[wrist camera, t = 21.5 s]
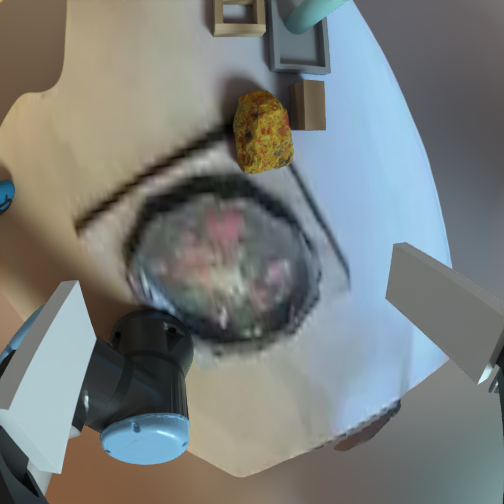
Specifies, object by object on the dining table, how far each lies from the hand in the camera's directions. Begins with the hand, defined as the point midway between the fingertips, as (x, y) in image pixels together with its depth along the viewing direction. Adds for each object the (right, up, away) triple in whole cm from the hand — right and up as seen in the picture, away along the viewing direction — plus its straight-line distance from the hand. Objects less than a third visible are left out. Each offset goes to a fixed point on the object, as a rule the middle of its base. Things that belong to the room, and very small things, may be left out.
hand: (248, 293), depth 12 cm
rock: (+1, +19, +31) cm, 37 cm away
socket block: (-2, +36, +24) cm, 43 cm away
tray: (+7, +36, +25) cm, 45 cm away
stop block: (+7, +23, +31) cm, 39 cm away
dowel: (+7, +36, +25) cm, 44 cm away
